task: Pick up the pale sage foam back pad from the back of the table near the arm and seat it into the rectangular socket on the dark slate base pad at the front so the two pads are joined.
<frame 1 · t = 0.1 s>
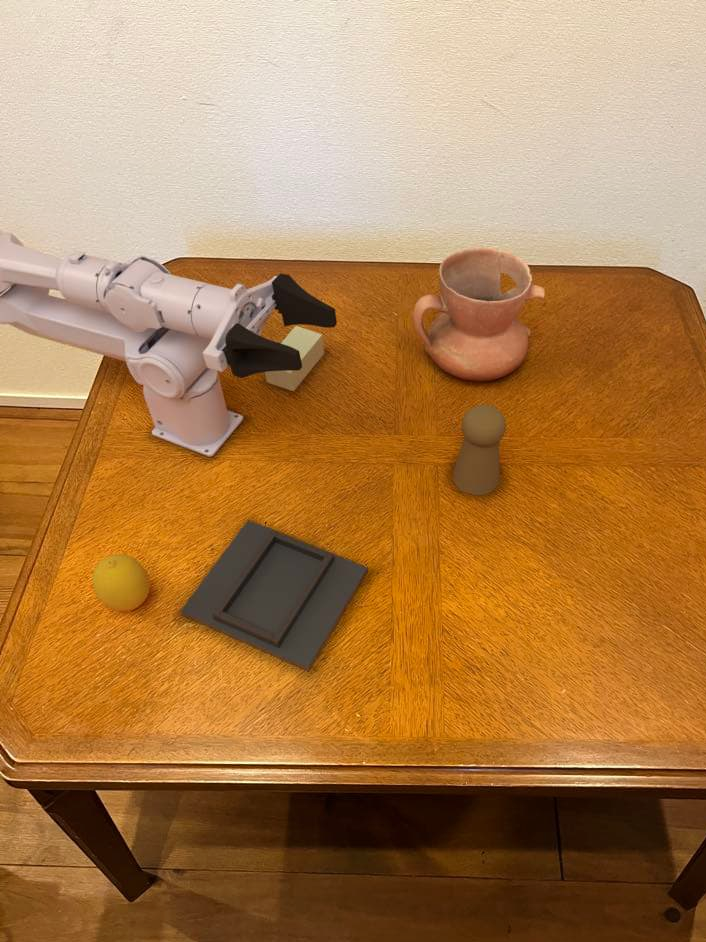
hand: (317, 338, 76), 22 cm above the table, tool horizontal, fingers open, 7 cm apart
base pad: (277, 593, 83), on the table
brown pawn: (476, 478, 94), on the table
ceramic jug: (471, 359, 108), on the table
lemon: (132, 603, 83), on the table
back pad: (295, 367, 106), on the table
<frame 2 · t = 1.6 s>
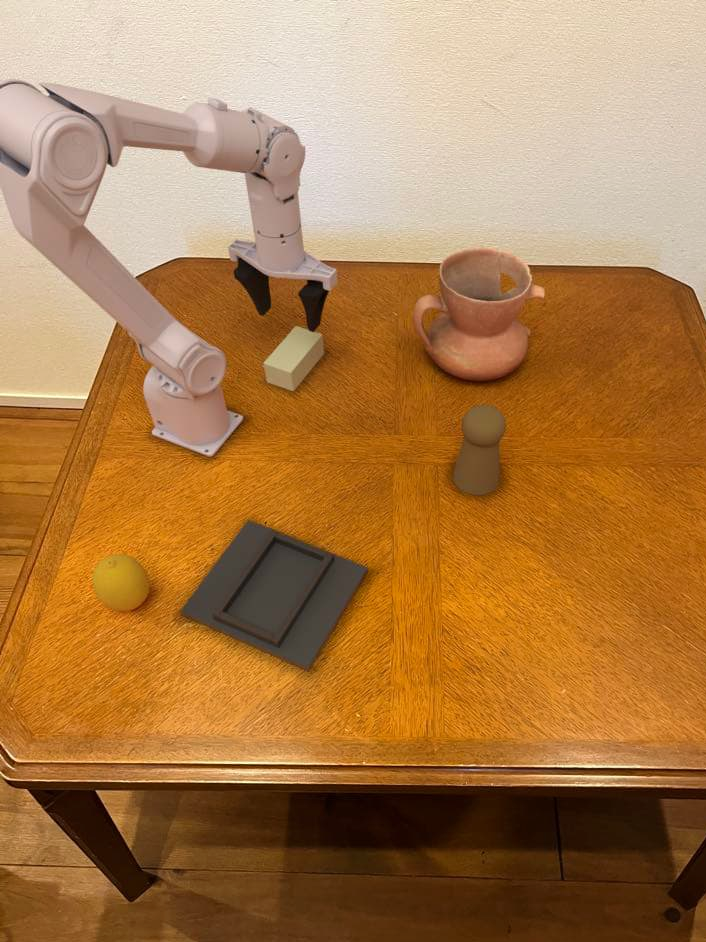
hand: (289, 319, 99), 8 cm above the table, tool pointing down, fingers open, 7 cm apart
nothing on the table moved.
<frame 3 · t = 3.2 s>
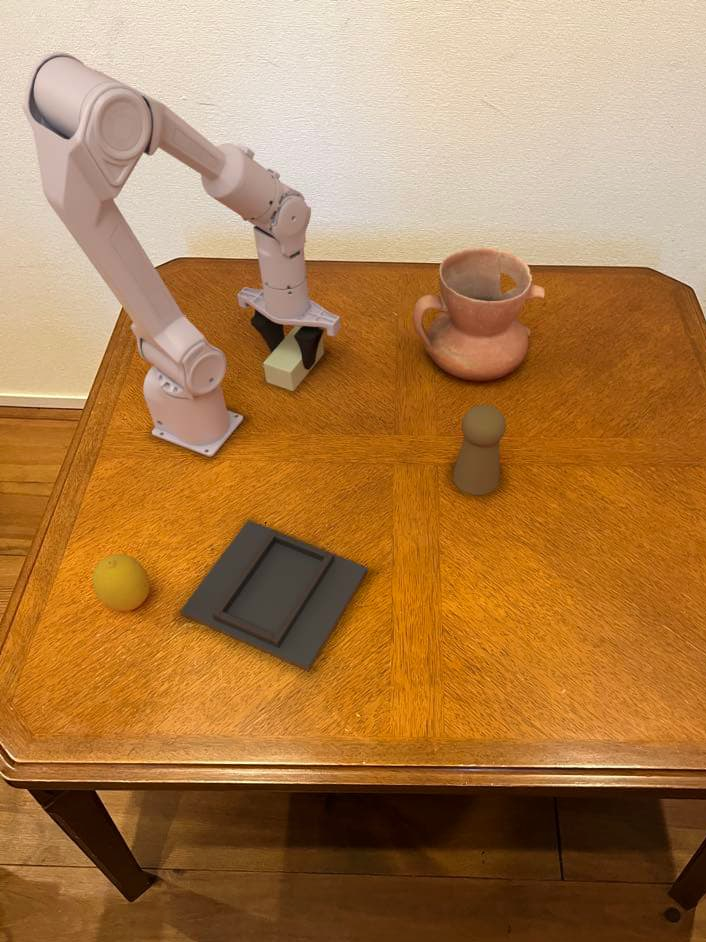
hand: (294, 360, 105), 1 cm above the table, tool pointing down, fingers closed on back pad, 4 cm apart
back pad: (295, 367, 106), on the table, touching gripper
everything else where it was.
when the fingers open (2 cm above the table, at t = 9.3 s): back pad stays where it is, resting on base pad.
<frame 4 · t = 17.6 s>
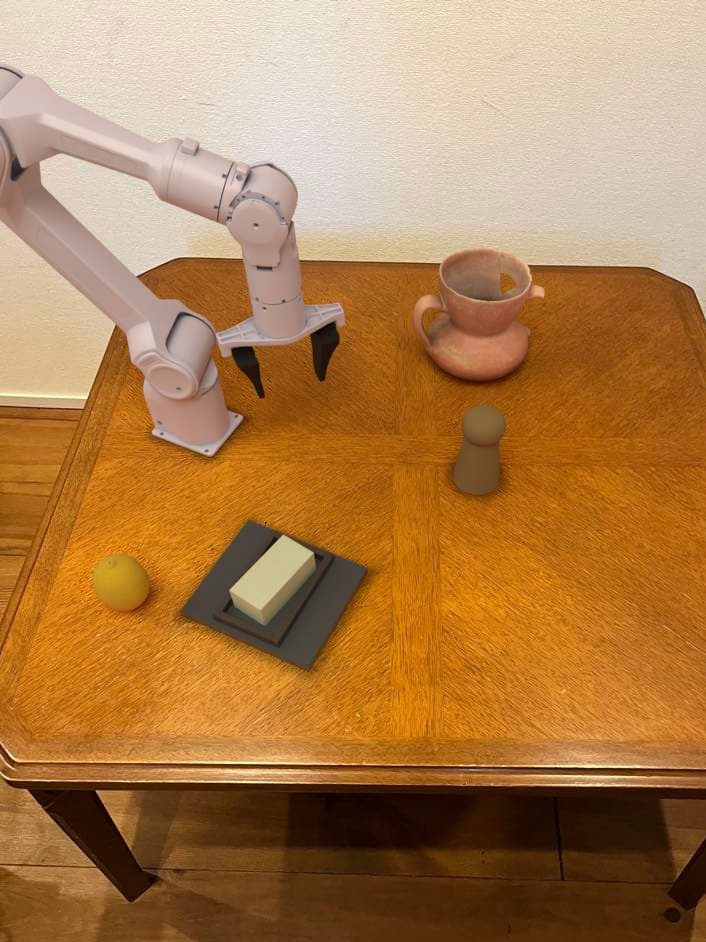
hand: (290, 384, 90), 9 cm above the table, tool pointing down, fingers open, 7 cm apart
back pad: (276, 588, 83), point 1 cm above the table, touching base pad
everything else where it was.
at the end: back pad 0.1 cm off-centre on the base pad, point 1.0 cm above the base pad's base; back pad tilted 0°; the gripper is holding nothing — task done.
